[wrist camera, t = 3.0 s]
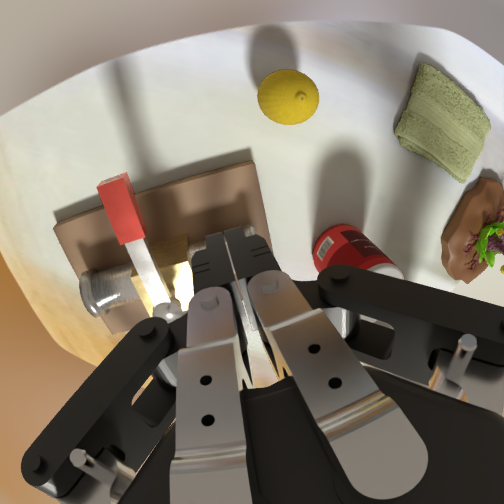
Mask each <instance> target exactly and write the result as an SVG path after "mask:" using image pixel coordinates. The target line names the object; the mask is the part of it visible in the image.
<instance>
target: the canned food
mask: <svg viewBox="0 0 504 504" xmlns="http://www.w3.org/2000/svg"><path fill="white" fill-rule="evenodd" d="M313 259H314V265H315V267H316V269H317V271H318V272H319V273H320V272H321V271H322V270H323V269H325V268H327V267H329V266H332V265H337V264H344V265H350V266H354V267H358V268H361V269H365V270H369V271H373V272H376V273H380V274H384V275H388V276H392V277H395V278H399V279H403V280H404V276H403V274H402V272H401V271H400V270H399V268H398V267H397V266H396V265H395V264H394V263H393V262H392V261H391V260H390V259H389V258H388V257H387V256H386V255H385V254H384V253H383V252H382V251H381V250H380V249H379V248H378V247H376V246H375V245H374V244H373V243H372V242H371V241H370V240H369V239H368V238H367V237H366V236H365V235H364V234H362V233H361V232H360V231H359V230H358V229H357V228H355V227H353V226H350V225H345V224H340V225H336V226H333V227H331V228H329V229H327V230H326V231H325V232H324V233H323V234H322V235H321V236H320V237H319V239H318V240H317V242H316V244H315V246H314V250H313ZM361 319H363V320H366V321H369V322H375V321H377V320H376V319H373V318H370V317H367V316H364V315H361Z"/></svg>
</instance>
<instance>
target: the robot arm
mask: <svg viewBox="0 0 504 504" xmlns="http://www.w3.org/2000/svg"><path fill="white" fill-rule="evenodd" d="M224 235H225V238H226V242H227V245H228V249H229V252H230V256H231V259H232V263H233V266H234V270H235V273H236V277H237V280H238V283H239V287H240V290H241V294H242V297H243V300H244V304H245V307H246V310H247V314H248V317H249V320H250V324H251V327H252V330H253V331H256V330H259V333H260V336H261V340H262V343H263V347H264V349H265V352H266V354H267V356H268V358H269V361H270V363H271V365H272V367H273V369H274V372H275V374H276V376H277V378H278V382H276V383H275V384H273V385H271V386H269V387H265V388H255V384H254V378H253V372H252V366H251V361H250V355H249V350H248V347H247V345H248V342H247V337H246V333H249V332H251V330H250V327H249V323H248V320H247V317H246V313H245V310H244V306H243V303H242V300H241V296H240V293H239V289H238V286H237V282H236V279H235V275H234V272H233V268H232V265H231V261H230V258H229V254H228V251H227V247H226V244H225V240H224V237H223V233H222V232H218V233H215V234H211V235H208V236H205V241H206V249H202V250H199V251H196V252H195V253H194V255H193V257H192V259H191V267H192V281H193V293H194V296H193V297H192V298H191V299H190V301H189V303H188V312H187V313H186V314H184V315H183V316H182V317H180V318H178V319H176V320H174V321H173V322H171V323H169V324H168V323H167V321H166V320H165V319H163V318H161V317H150V318H146V319H144V320H142V321H140V322H138V323H137V324H136V325H135V326H134V327H133V328H132V329H131V330H130V331H129V332H128V333H127V334H126V336H125V337H124V338H123V339H122V340H121V341H120V342H119V343H118V344H117V346H116V347H115V348H114V349H113V350H112V351H111V352H110V353H109V354H108V356H107V357H106V358H105V359H104V360H103V361H102V362H101V363H100V365H99V366H98V367H97V368H96V369H95V370H94V371H93V373H92V374H91V375H90V376H89V377H88V378H87V379H86V381H85V382H84V383H83V384H82V385H81V386H80V388H79V389H78V390H77V391H76V392H75V393H74V394H73V396H72V397H71V398H70V399H69V400H68V401H67V403H66V404H65V405H64V406H63V407H62V408H61V410H60V411H59V412H58V413H57V415H56V416H55V417H54V418H53V419H52V420H51V422H50V423H49V424H48V425H47V426H46V428H45V429H44V430H43V431H42V433H41V434H40V435H39V436H38V437H37V439H36V440H35V441H34V442H33V443H32V445H31V446H30V447H29V448H28V450H27V451H26V452H25V454H24V456H23V458H22V462H21V472H22V475H23V478H24V479H25V481H26V482H27V483H28V484H30V485H32V486H33V487H35V488H37V489H39V490H41V491H43V492H44V493H46V494H47V495H48V496H50V497H52V498H54V499H56V500H58V501H59V502H60V503H61V504H504V417H502V412H503V407H504V307H501V306H498V305H494V304H491V303H487V302H484V301H480V300H476V299H473V298H469V297H465V296H462V295H458V294H455V293H451V292H447V291H444V290H440V289H436V288H433V287H429V286H425V285H421V284H418V283H414V282H410V281H407V280H403V279H399V278H395V277H392V276H388V275H384V274H380V273H376V272H373V271H369V270H365V269H361V268H358V267H354V266H350V265H344V264H337V265H332V266H329V267H327V268H325V269H323V270H322V271H321V272H320V273H319V275H318V277H317V280H315V281H295V280H292V279H291V278H290V277H289V275H288V274H286V273H285V272H282V271H281V269H280V267H279V265H278V263H277V261H276V259H275V257H274V255H273V253H272V252H271V250H270V248H269V246H268V244H267V242H266V240H265V238H263V237H261V236H259V235H257V234H255V235H251V236H248V237H245V235H244V233H243V230H242V228H241V226H239V227H236V228H232V229H229V230H225V231H224ZM361 315H364V316H367V317H370V318H373V319H376V320H377V321H375V322H369V321H366V320H363V319H361ZM360 362H361V363H362V364H363V365H362V364H361V363H360ZM150 375H152V377H153V380H152V381H151V382H150V383H149V385H148V386H147V387H146V389H145V390H144V391H143V392H142V394H141V395H140V396H139V398H138V399H137V400H136V401H135V403H134V404H133V405H131V404H132V399H133V397H134V395H135V394H136V393H137V391H138V390H139V389H140V388H141V386H142V385H143V384H144V383H145V381H146V380H147V379H148V377H149V376H150ZM175 418H176V421H175V422H174V423H173V424H172V425H171V423H172V422H173V420H174V419H175ZM170 425H171V426H170ZM169 426H170V427H169ZM168 427H169V428H168ZM158 441H159V442H158ZM156 444H157V445H156ZM155 446H156V447H155ZM154 447H155V448H154ZM153 448H154V450H153ZM152 450H153V451H152ZM151 451H152V453H151ZM150 453H151V454H150ZM149 454H150V456H149V457H148V455H149ZM147 457H148V459H147V460H146V458H147ZM145 460H146V462H145V463H144V464H143V462H144V461H145ZM142 464H143V466H142V468H141V469H140V470H139V472H138V473H137V475H136V474H135V473H136V472H137V470H138V469H139V468H140V466H141V465H142Z"/></svg>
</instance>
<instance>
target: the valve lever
mask: <svg viewBox="0 0 504 504" xmlns="http://www.w3.org/2000/svg"><path fill="white" fill-rule="evenodd" d="M97 190H98V192H99V195H100V198H101V200H102V203H103V205H104V208H105V210H106V213H107V215H108V218H109V220H110V223H111V225H112V227H113V230H114V232H115V234H116V237H117V239H118V241H119V244H120V245H123V244H125V246H126V248H127V250H128V253H129V255H130V257H131V259H132V262H133V264H134V266H135V268H136V270H137V272H138V274H139V277H140V279H141V281H142V283H143V285H144V287H145V289H146V291H147V293H148V295H149V297H150V299H151V301H152V303H153V313H152V316H153V317H161V318H163V319H165V320H166V321H167V323H168V324H169V323H171V322H173V321H174V320H176V319H178V318H180V317H182V316H183V309H182V303H181V302H180V300H179V299H177V298H176V297H173V296H171V295H170V292H169V290H168V288H167V286H166V283H165V281H164V279H163V277H162V274H161V272H160V270H159V267H158V265H157V263H156V260H155V258H154V255H153V253H152V251H151V248H150V246H149V243H148V241H147V238H146V233H147V227H146V224H145V221H144V219H143V216H142V213H141V211H140V208H139V205H138V203H137V200H136V197H135V194H134V191H133V189H132V186H131V183H130V180H129V177H128V174H127V172H126V173H123V174H120V175H117V176H115V177H112V178H109V179H107V180H104V181H101V183H100V184H99V185H98V186H97Z"/></svg>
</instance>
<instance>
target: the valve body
mask: <svg viewBox="0 0 504 504" xmlns="http://www.w3.org/2000/svg"><path fill="white" fill-rule="evenodd" d="M240 226H241V228H242V230H243V233H244V235H245V237H248V236H251V235H255V234H256V232H255V229H254V227H253V224H252V223H251V222H248V223H244V224H241V225H240ZM223 237H224V240H225V244H226V247H227V251H228V254H229V258H230V261H231V265H232V268H233V272H234V274H236V273H235V270H234V266H233V263H232V259H231V256H230V252H229V249H228V245H227V242H226V238H225V235H223ZM149 246H150V248H151V251H152V253H153V255H154V258H155V260H156V263H157V265H158V267H159V270H160V272H161V274H162V277H163V279H164V281H165V283H166V286H167V288H168V290H169V292H170V295H171V296H173V297H176V298H177V299H179V300H180V302H181V303H182V309H183V311H185V310H188V303H189V301H190V299H191V298H192V297H193V296H194V293H193V281H192V267H191V259H192V257H193V255H194V253H195V252H196V251H199V250H202V249H206V241H205V240H204V241H201V242H197V243H194V244H190V242H189V239H188V236H187V233H186V234H183V235H180V236H176V237H173V238H169V239H166V240H163V241H159V242H156V243H153V244H150V245H149ZM79 288H80V294H81V298H82V301H83V303H84V305H85V307H86V309H87V311H88V312H89V313H90V314H91V315H92V316H94V317H100V316H103V315H107V314H108V313H109V311H110V308H113V307H117V306H121V305H125V304H128V303H132V302H136V301H139V300H142V302H143V304H144V306H145V308H146V310H147V312H148V313H149V315H150V317H153V316H152V313H153V303H152V301H151V299H150V297H149V295H148V293H147V291H146V289H145V287H144V285H143V283H142V281H141V279H140V277H139V274H138V272H137V270H136V268H135V266H134V264H133V262H130V263H126V264H123V265H120V266H117V267H113V268H110V269H107V270H104V271H100V272H98V270H97V269H95V268H93V269H89V270H86V271H84V272H82V274H81V276H80V280H79Z"/></svg>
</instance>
